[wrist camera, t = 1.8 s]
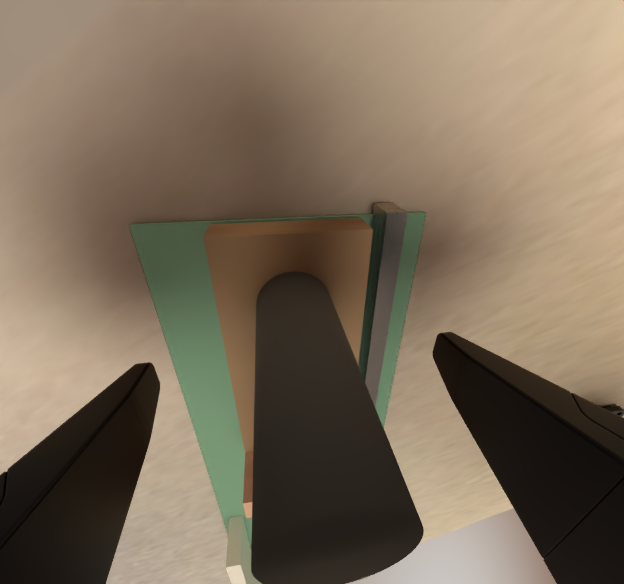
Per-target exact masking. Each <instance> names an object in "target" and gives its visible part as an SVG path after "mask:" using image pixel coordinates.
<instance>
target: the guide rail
mask: <svg viewBox="0 0 624 584" xmlns="http://www.w3.org/2000/svg"><path fill="white" fill-rule="evenodd" d="M407 215H408V212H407V211H405V210H404V209H402V208H401V207H399V206H397V205H396V204H394V203H392V202H391V203H374V208H373V217H372V226H371V228H372V229H373V235H372V244H371V253H370V262H369V271H368V280H367V289H366V298H365V307H364V317H363V326H362V335H361V344H360V353H359V362H358V366H359V369H360V371H361V374H362V376H363V379H364V381H365V384H366V386H367V389H368V391H369V394H370V396H371V399H372V401H373V404H374V406H375V407H376V401H377V395H378V389H379V383H380V377H381V371H382V365H383V359H384V353H385V347H386V341H387V335H388V329H389V323H390V317H391V311H392V305H393V299H394V293H395V287H396V281H397V275H398V269H399V263H400V257H401V251H402V245H403V239H404V233H405V227H406V221H407Z"/></svg>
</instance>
